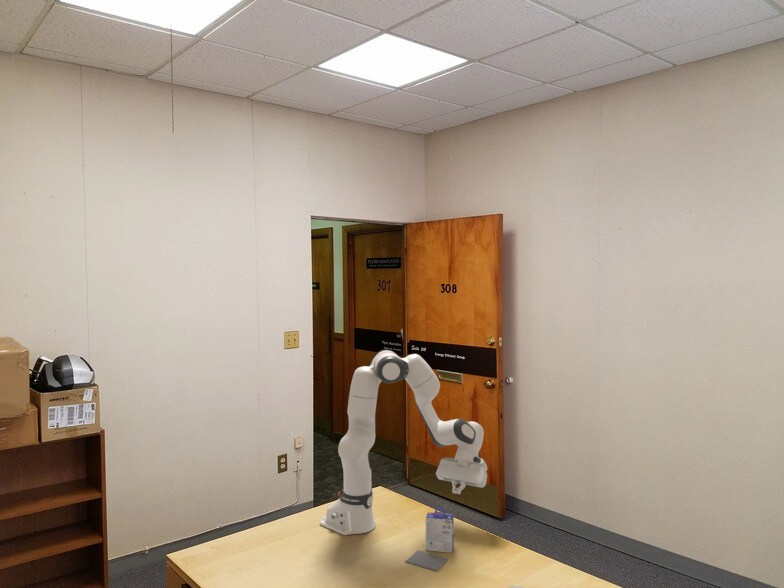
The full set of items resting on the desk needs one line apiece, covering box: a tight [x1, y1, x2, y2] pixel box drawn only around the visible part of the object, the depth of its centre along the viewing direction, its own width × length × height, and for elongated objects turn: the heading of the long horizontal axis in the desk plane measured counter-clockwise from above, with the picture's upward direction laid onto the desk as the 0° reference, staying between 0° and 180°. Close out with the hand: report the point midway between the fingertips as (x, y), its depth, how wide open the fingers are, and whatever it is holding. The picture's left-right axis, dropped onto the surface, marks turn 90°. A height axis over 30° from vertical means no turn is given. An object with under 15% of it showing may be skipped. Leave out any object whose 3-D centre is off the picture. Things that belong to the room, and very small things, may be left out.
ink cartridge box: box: [425, 506, 455, 554], centre depth 201 cm, size 10×6×14 cm, turn 78°
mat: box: [405, 549, 449, 572], centre depth 192 cm, size 12×9×1 cm
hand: (455, 493), depth 213 cm, fingers closed
